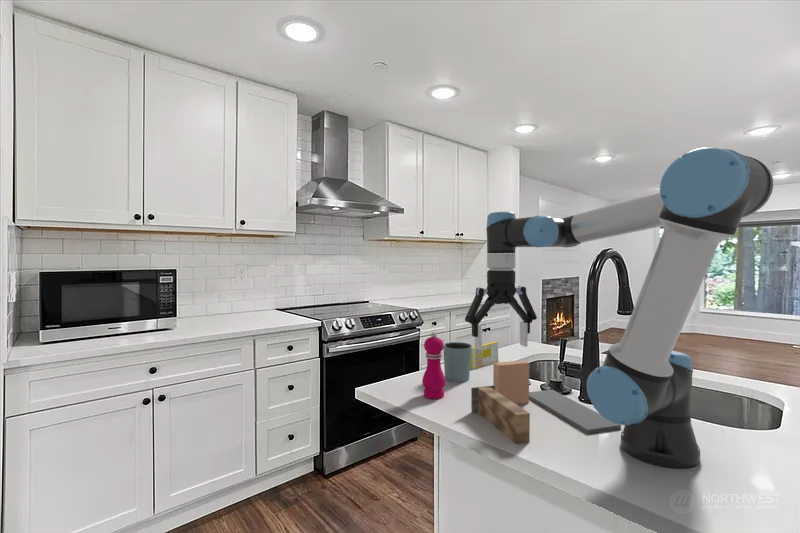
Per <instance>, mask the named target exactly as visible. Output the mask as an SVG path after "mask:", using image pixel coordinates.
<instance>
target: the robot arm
mask: <svg viewBox="0 0 800 533" xmlns="http://www.w3.org/2000/svg"><path fill="white" fill-rule="evenodd" d="M659 183H660V184H659V191H656V192H654V193H650V194H646V195H642V196H639V197H635V198H631V199H627V200H625V201H620V202H617V203H613V204H610V205H607V206H603V207H602V206H601V207H598V208H595V209H592V210H588V211H584V212H581V213H577V214H575V215H570V216H567V217H561V218H558V217H557V218H556V217H555V218H553V217H552V216H549V215H535V216H529V217H519V218H516V214H515V213H516V212H512V211H494V212H491V213H488V215H487V218H486V219H487V220H486V228H485V229H486V268H487V269H488V270H487V271H486V283H487V287H486V288H482V287H476V289H475V296H474V298H473V300H472V302H471V305H470V307H469V309H468V311H467V313H466V316H465V317H464V322H467V323H469V324H471V336H472V337H474V347H475V348H477V349H478V350H482V345H483V344H482V339H483V337H482V332H483V331H482V325H481V324H480V323H481V321H482V320H483V319H484V318H485V317H486V315H487V314H488V313H489V311H490V310H491V308H492V307H494V305H495V304H496V305H501V304H504V305H507V304H509V305H510V306H511V307H512V309H513V310H514V311H515V312H516V314H517V315H518V316H519V317H520V318H521V320H522V321H521V320H520V321H519V345H520V346H522V347H524V348H525V347H528V336H529V335H528V334H531V323H533V321H535V320H537V318H538V317H537V315H536V312H535V310H534V308H533V306H532V304H531V301H530V299H529V297H528V295H527V287H525V286H521V285H519V286H517V287H516V271H515V270H514V269H515V268H516V248H549V247H550V248H567V249H568V248H573V247H577V246H579V245H580V244H583V243H588V242H593V241H596V240H597V241H598V240H603V239H607V238H612V237H617V236H621V235H626V234H631V233H637V232H640V231H641V232H642V231H645V230H651V229H656V228H660V227H663V232H662V235H661V237H660V240H659V243H658V244H657V248H656V251H655V253H654V255H653V258H652V261H651V263H650V266H649V269H648V270H647V273H646V276H645V279H644V281H643V284H642V286H641V289H640V292H639V294H638V297H637V299H636V302H635V305H634V307H633V310H632V312H631V315H630V317H629V320H628V321H627V325H626V328H625V330H624V333H623V335H622V338H621V340H620V342H617V343H613V344H611V345H610V346H609V348H608V350H607V353H606V357H605V359H604V361H603V364H602V365H600V366H597V367H596V368H595V369H594V370H592V371H591V372H590V374H589V375H588V376H587V379H586V392H587V396H588V399H590V401H591V404H592V406H593V408H594V409H595V410H596V412H597V413H599V414H600V415H602V416H603V417H604V418H605V419H607V420H609V421H611V422H613V423H615V424H619V425H621V426H624V428H623V429H622V431H621V434H620V445H621V448H622V449H623V450H624V451H625V453H627V454H628V455H630V456H633V457H634V458H637V459H639V460H640V461H644V462H646V463H649V464H653V465H656V466H659V467H660V466H661V467H667V468H675V469H688V468H692V467H696V466H697V465H699V464H700V462H701V448H700V446H699V444H698V442H697V439H696V435H695V431H694V429H693V426H692V396H693V391H692V390H693V373H694V369H693V362H692V361H693V360H692V358H691V357H690V355H688V354H686V353H684V352H680V351H676V350H674V348H675V346H676V343H677V342H678V340H679V339H678V338H679V337H680V335H681V332H682V330H683V327H684V325H685V322H686V320H687V319H688V315H689V314H690V311H691V309H692V307H693V304H694V302H695V300H696V297H697V295H698V293H699V291H700V288H701V287H702V283H703V281H704V279H705V276H706V274H707V273H708V269H709V267H710V265H711V262H712V261H713V259H714V255H715V253H716V251H717V249H718V246H719V244H720V243H722V242H723V241H726V240H728V239H731V238H733V237H734V236H735V234H736V232H737V229H738V227H739V225H740V222H741V221H742V218H745V217H748V216H750V215H753V214H755V213H756V212H757V211H759V210H760V209H761V208H763V207H764V206H765V205H766V203H767V202H768V201H769V199H770V198H771V195H772V194H773V189H774V179H773V175H772V173H771V171H770V169H769V168H768V166H767V165H766V164H764V163H763V162H762V161H761V160H760V159H759V160H758V159H756V158H755V157H752V156H748V155H745V154H741V153H739V152H738V151H736V150H734V149H728V148H725V147H722V148H721V147H710V146H709V147H701V148H700V147H699V148H696V149H693V150H690V151H688V152H685V153H684V154H683V155H681V156H679V157H677V158H676V159H675V160H674V161H672V163H670V164H669V166H668V167H667V168H666V170H664V173H663V175H662V177H661V179H660V182H659ZM516 294H517V295H518V297H519V300H520V302H521V305H522V306H523V307H522V306H521V305H520V303H519V302H518V300H517V299H516V298H515V295H516ZM485 295H487V296H488V297H487V298H486V299H485V301H484V303H483V305H482V306H481V303H482V301H483V299H484V297H485ZM480 306H481V307H480Z"/></svg>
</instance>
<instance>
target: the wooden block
mask: <svg viewBox="0 0 800 533" xmlns="http://www.w3.org/2000/svg"><path fill="white" fill-rule="evenodd" d="M470 389H471V391H470V392H471V395H470V396H471V402H470V404H471V410H470V412H471V414H476V413H478V414H479V415H481V417H483V419H485V420H487V421H488V422H489V423H490V424H491V425H492V426H494V428H496V429H497V430H498V431H500V432H501V433H502V434H503V435H504V436H506V438H508V439H509V440H510V441H512V442H513V443H514V444H515V445H520V444H522V445H523V444H526V443H527V444H528V443H530V441H531V440H530V434H531V433H530V431H531V430H530V429H531V428H530V427H531V426H530V422H531V421H530V420H531V419H530V418H531V417H530V416H531V413H530V412H529V411H527V410H526V409H524V408H522V407H521V406H519V404H515V403H513V402H512V401H510V400H509V399H507V398H506V397H504V396H503V395H501V394H500V393H498V392H497V391H495V386H493V385H486V386H476V387H471V388H470Z"/></svg>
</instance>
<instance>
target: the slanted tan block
mask: <svg viewBox="0 0 800 533" xmlns="http://www.w3.org/2000/svg"><path fill="white" fill-rule="evenodd" d="M492 367H493V368H492V369H493V372H492V374H493V375H492V376H493V380H492V381H493V384H492V386H495V391H497V392H498V393H500V394H501V395H503V396H504V397H506V398H507V399H509V400H510V401H512V402H513V403H515V404H516V405H521V404H522V405H523V404H524V405H525V404H529V403H530V399H529V392H530V362H529V361H526V360H523V359H522V360H511V361H510V360H509V361H502V362H501V361H499V362H496V363H493V366H492Z"/></svg>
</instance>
